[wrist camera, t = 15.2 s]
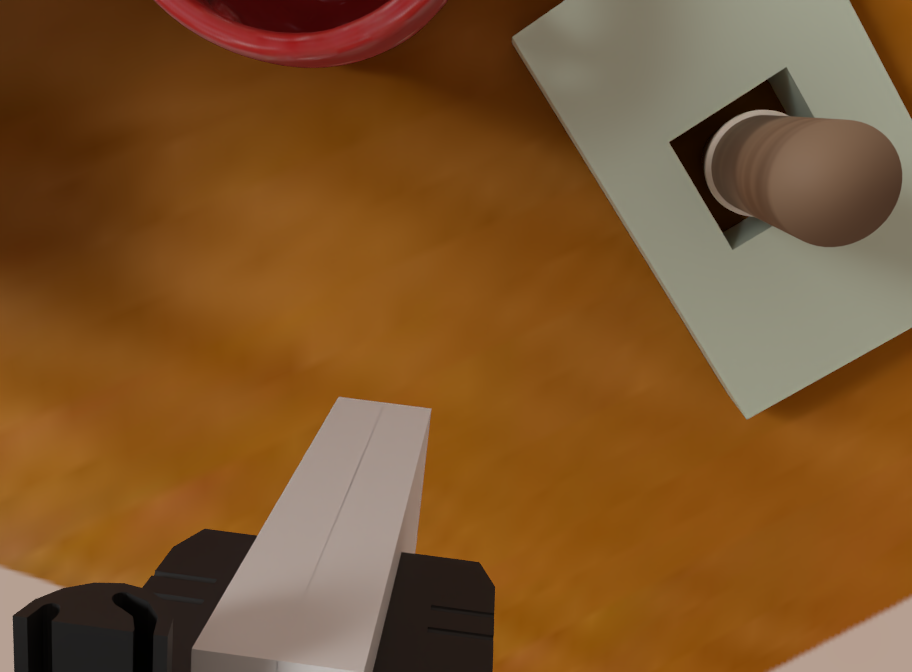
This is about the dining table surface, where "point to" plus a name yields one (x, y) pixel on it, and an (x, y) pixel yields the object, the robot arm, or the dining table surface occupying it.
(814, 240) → the peg
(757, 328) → the board
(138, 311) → the dining table surface
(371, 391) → the dining table surface
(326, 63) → the plant pot
